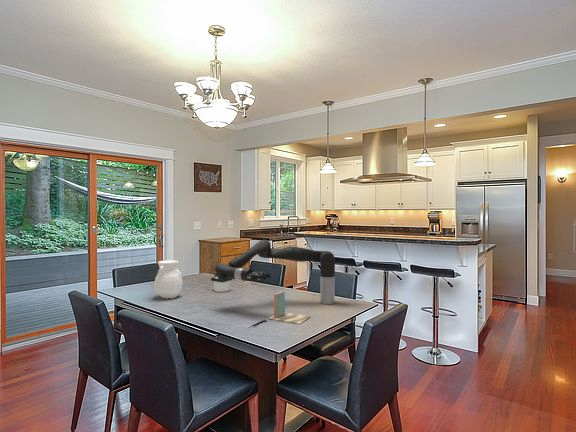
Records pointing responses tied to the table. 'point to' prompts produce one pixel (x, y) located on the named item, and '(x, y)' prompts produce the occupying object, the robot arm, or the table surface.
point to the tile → (279, 304)
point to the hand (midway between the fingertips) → (268, 276)
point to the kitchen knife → (257, 324)
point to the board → (291, 318)
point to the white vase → (168, 279)
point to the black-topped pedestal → (220, 284)
